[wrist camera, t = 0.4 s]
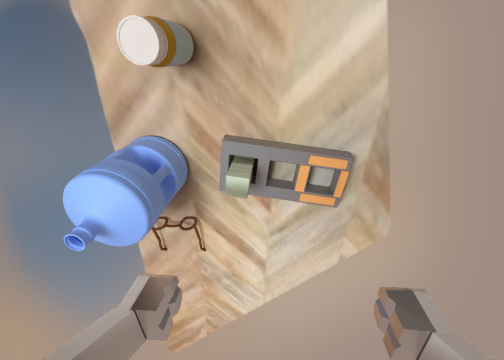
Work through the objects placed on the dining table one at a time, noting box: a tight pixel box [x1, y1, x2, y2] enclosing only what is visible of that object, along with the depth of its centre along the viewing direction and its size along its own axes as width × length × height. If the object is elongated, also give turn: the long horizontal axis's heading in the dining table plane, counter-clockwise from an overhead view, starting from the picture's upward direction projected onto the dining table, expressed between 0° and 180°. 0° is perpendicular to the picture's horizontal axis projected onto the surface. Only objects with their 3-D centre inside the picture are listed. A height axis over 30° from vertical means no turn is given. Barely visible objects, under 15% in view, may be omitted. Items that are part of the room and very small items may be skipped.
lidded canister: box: [117, 15, 194, 67], centre depth 40 cm, size 7×7×15 cm
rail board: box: [219, 135, 353, 208], centre depth 55 cm, size 12×28×4 cm, turn 84°
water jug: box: [63, 136, 188, 251], centre depth 47 cm, size 16×16×28 cm
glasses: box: [152, 217, 206, 251], centre depth 68 cm, size 13×13×5 cm
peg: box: [225, 155, 255, 198], centre depth 52 cm, size 4×4×12 cm
